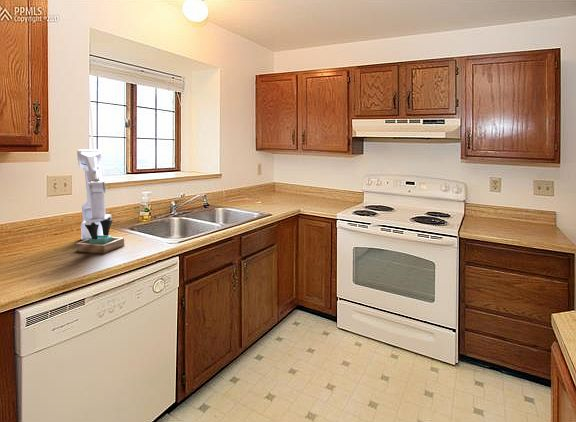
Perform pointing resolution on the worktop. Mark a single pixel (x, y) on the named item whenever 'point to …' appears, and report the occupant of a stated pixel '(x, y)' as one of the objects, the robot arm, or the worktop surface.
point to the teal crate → (100, 240)
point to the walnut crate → (99, 246)
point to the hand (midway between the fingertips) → (100, 237)
